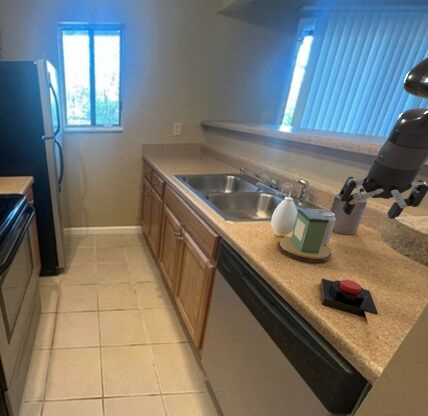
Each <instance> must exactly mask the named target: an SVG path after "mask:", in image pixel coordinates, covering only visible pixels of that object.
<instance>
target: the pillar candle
mask: <svg viewBox="0 0 428 416" xmlns="http://www.w3.org/2000/svg"><path fill="white" fill-rule="evenodd" d="M368 201H369V199H366V200H361V201H359V202H357V203H355V207H354V208H353V210H352V212H351V214H350V215H346V214H345V213H344V210H343V206H344V204H345V202H346V201H345V202H342V201H341V198H340V196H339V193H338V194H335V195H334V198H333V202H332V205H331V208H330V210H329V211H330V212H332V213H334V214H335V216H334V217H335V218H336V221H335V224H334V227H333V231H332V233H336V234H340V235H349V236H352V235H355V234H356V233H357V232H358V230H359V226H360V223H361V221H362V218H363V215H364V212H365V209H366V206H367V203H368Z"/></svg>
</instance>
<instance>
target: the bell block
mask: <svg viewBox="0 0 428 416" xmlns="http://www.w3.org/2000/svg"><path fill="white" fill-rule="evenodd" d="M340 282H341V280H338V279H337V280H329V279H326V278H321V280H320V283H319V288H320V297H321V305H322V306H323V307H327V308H330V309H334V310H337V311H340V312H344V313H348V314H350V315H355V316H357V317H360V318H365V319H367V315H366V312H367V313H369V314H373V315H378V314H379V313H378V311H377V308H376V305H375V302H374V299H373V296H372V294H371V291H370V290H369V289H366V288H363V287H362V286H361V290H360V293H359V294H351V293H347V292H345V291H343V290H341V289H340V288H339V285H340Z"/></svg>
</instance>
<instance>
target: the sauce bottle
mask: <svg viewBox="0 0 428 416" xmlns="http://www.w3.org/2000/svg"><path fill="white" fill-rule="evenodd" d="M291 195H292V191H291V190H290V191H289V194H288V197H287V196H286V197H284V200H283V199H282V201H280V202H279V203H278V204H277V206H276V208H275V209H274V211H273V213H272V216H271V219H270V225H271V229H272V231H273V232H274V233H275V235H276V236H278V237H287V235H288V236H289V235H290V234H292V233H293V229H294V225H295V221H296V217H297V213H298V209H297V206H296V203H295V202H294V198H292V197H291Z"/></svg>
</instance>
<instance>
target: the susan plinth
mask: <svg viewBox="0 0 428 416" xmlns="http://www.w3.org/2000/svg"><path fill="white" fill-rule="evenodd" d="M276 249H277V251H278V252H279V253H281V254H282V255H283V256H285V257H287V258H288V259H292V260H294V261H297V262H300V263H304V264H312V265H323V264H327V263H328V262H330V259H331V257H332V254H331V253H330V254H329V256H328V257H326V258H323V259H311V258H305V257H301V256H298V255H295V254H292V253H290V252H288V251H286V250H284V249H283V248H282V247H281V246H280V240H279V241H277V244H276Z"/></svg>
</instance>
